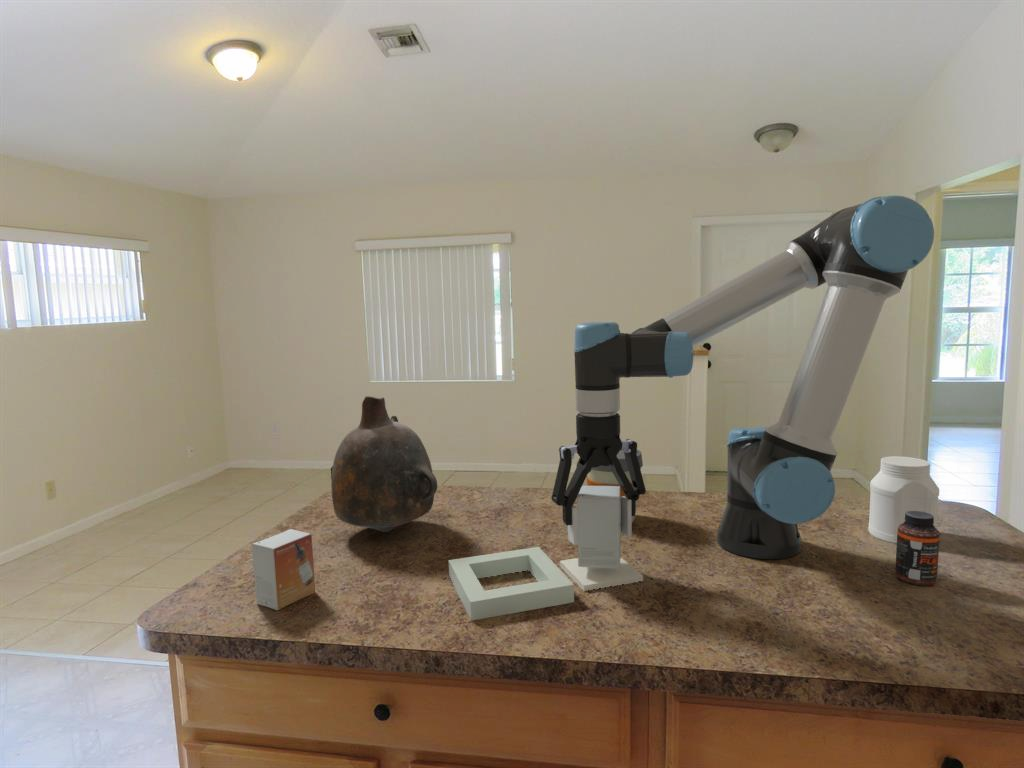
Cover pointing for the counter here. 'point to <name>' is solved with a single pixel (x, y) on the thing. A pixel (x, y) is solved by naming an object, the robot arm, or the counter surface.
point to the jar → (900, 495)
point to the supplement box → (599, 526)
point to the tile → (600, 575)
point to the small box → (283, 569)
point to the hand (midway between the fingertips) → (600, 537)
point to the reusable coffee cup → (611, 474)
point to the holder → (514, 598)
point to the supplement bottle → (917, 549)
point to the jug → (381, 472)
